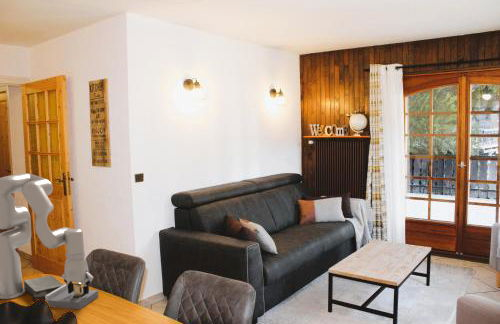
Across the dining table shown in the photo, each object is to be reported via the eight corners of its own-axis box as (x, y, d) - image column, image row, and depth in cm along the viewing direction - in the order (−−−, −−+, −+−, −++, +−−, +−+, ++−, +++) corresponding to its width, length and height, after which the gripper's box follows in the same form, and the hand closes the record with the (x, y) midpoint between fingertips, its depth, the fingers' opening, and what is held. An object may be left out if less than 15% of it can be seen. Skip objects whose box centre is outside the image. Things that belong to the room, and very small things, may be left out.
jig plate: (46, 306, 195) (45, 295, 195) (66, 293, 209) (65, 284, 208) (80, 309, 191) (79, 298, 190) (98, 296, 204) (97, 286, 204)
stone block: (35, 301, 200) (35, 291, 200) (23, 290, 215) (23, 280, 215) (65, 293, 210) (65, 283, 209) (52, 283, 224) (51, 273, 224)
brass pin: (73, 303, 198) (71, 284, 197) (78, 299, 201) (76, 281, 200) (80, 303, 197) (78, 284, 196) (85, 300, 200) (83, 282, 199)
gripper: (54, 257, 195) (57, 295, 197) (87, 259, 191) (90, 297, 193) (64, 252, 203) (67, 288, 204) (97, 254, 198) (99, 291, 200)
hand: (78, 292), depth 199 cm, fingers open, 7 cm apart
